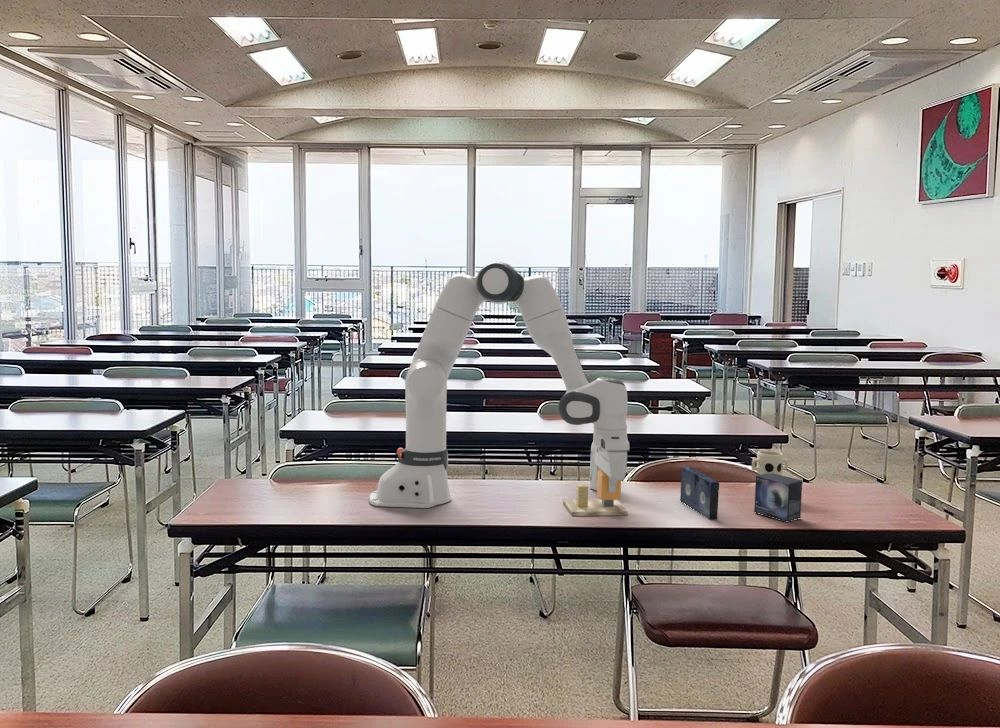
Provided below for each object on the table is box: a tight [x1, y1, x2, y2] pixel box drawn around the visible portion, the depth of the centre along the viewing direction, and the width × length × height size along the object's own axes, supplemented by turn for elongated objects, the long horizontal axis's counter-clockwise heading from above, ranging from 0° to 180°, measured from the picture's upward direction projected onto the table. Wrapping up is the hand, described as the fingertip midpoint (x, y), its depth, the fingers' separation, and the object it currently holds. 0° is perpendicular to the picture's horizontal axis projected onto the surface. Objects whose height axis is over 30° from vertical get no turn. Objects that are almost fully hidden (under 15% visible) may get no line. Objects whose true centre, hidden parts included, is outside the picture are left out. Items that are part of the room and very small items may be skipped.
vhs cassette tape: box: [679, 466, 720, 520], centre depth 229 cm, size 18×3×10 cm, turn 11°
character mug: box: [751, 449, 789, 475], centre depth 243 cm, size 11×7×13 cm, turn 99°
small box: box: [753, 473, 803, 522], centre depth 224 cm, size 11×6×10 cm, turn 36°
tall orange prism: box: [596, 471, 622, 501], centre depth 228 cm, size 5×5×7 cm
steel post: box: [602, 500, 614, 507], centre depth 228 cm, size 3×3×6 cm
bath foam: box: [589, 442, 601, 491], centre depth 250 cm, size 7×7×20 cm
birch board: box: [562, 499, 629, 517], centre depth 228 cm, size 15×12×1 cm
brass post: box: [575, 483, 589, 507], centre depth 227 cm, size 3×3×6 cm
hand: (608, 488), depth 228 cm, fingers closed on tall orange prism, 5 cm apart
